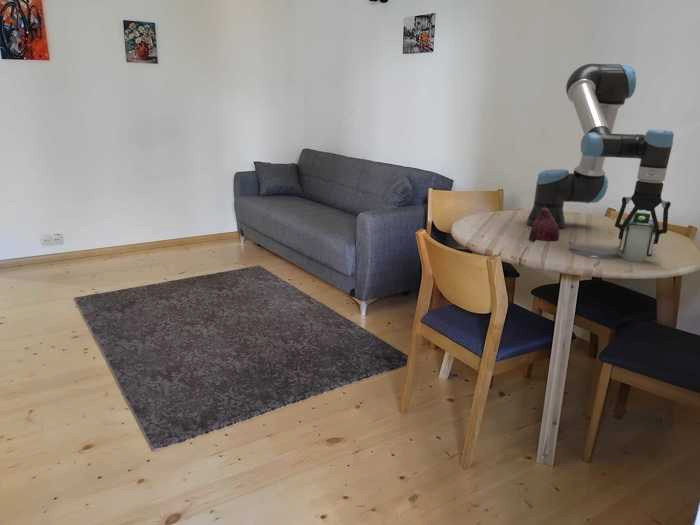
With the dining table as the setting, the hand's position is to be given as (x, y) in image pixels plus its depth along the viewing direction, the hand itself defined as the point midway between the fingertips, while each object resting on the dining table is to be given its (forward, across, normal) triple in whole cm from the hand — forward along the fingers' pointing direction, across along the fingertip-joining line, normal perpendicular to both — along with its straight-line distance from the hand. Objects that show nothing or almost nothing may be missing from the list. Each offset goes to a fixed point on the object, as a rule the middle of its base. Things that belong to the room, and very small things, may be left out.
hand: (635, 251), depth 168 cm
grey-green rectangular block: (+4, 0, 0) cm, 4 cm away
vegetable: (+4, -30, +12) cm, 33 cm away
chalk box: (+4, 0, +12) cm, 13 cm away
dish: (+4, -12, +1) cm, 13 cm away
